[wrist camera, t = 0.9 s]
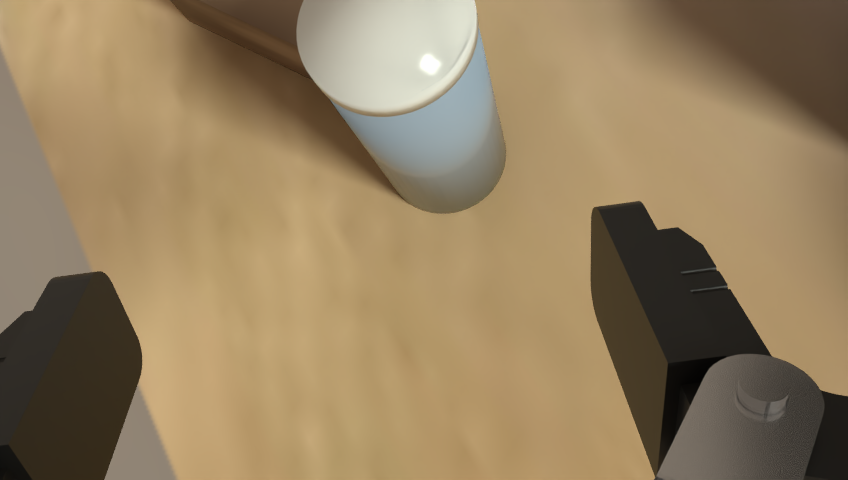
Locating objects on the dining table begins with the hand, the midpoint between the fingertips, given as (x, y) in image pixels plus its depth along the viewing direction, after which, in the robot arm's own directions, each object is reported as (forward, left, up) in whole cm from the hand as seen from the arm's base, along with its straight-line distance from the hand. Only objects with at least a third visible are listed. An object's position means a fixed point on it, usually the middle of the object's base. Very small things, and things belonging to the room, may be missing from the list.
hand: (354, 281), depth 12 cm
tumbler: (-8, -6, -20) cm, 23 cm away
